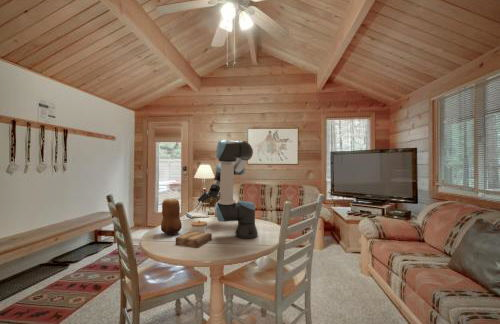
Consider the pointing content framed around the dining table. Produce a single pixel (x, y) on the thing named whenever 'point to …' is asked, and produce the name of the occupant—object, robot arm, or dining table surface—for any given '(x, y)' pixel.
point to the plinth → (193, 239)
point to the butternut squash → (171, 216)
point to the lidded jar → (199, 226)
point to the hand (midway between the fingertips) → (206, 210)
